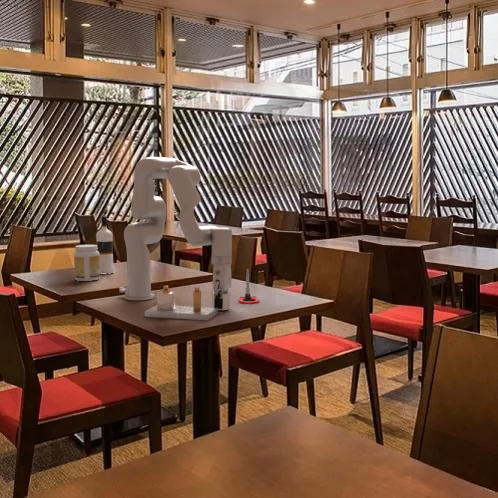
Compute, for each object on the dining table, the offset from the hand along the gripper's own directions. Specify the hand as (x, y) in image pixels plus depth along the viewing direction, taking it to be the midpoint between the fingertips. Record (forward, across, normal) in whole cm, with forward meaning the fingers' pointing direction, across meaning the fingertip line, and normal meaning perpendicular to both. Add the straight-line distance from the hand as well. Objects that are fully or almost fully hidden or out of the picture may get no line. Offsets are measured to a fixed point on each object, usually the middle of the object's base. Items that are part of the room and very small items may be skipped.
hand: (221, 306), depth 240 cm
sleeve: (+1, 0, 0) cm, 1 cm away
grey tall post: (+2, +18, -6) cm, 19 cm away
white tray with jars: (+1, -12, +12) cm, 17 cm away
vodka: (+3, +71, +84) cm, 110 cm away
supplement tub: (+3, +50, +82) cm, 96 cm away
